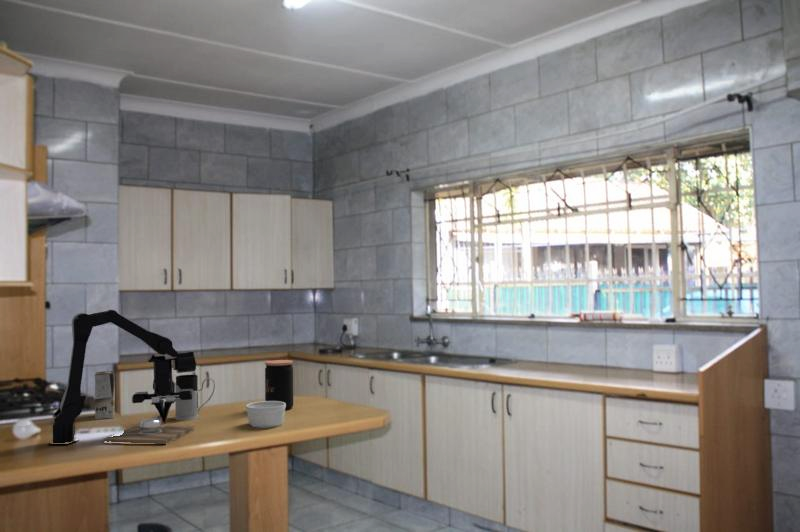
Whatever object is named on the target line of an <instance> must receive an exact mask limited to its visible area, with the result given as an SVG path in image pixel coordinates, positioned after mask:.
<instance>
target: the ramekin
mask: <svg viewBox="0 0 800 532" xmlns="http://www.w3.org/2000/svg"><path fill="white" fill-rule="evenodd" d="M245 408H246V411H247V419H248V423H249V425H250V426H251V427H253V428H261V429H266V428H275V427H276V428H277V427H279V426H281V425H282V424H283V423H284V420H285V413H286V410H285V408H286V403H284V402H280V401H265V400H262V401H254V402H250V403H248V404H246V407H245Z"/></svg>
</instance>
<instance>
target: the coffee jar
mask: <svg viewBox="0 0 800 532" xmlns="http://www.w3.org/2000/svg"><path fill="white" fill-rule="evenodd" d="M293 364H294V360H291V359H275V360H267V361H265V362H264V365H265V368H264V374H265V375H264V387H265V389H264V399H265V400H264V401H280V402H284V403H286V408H285V411H289V410H291V409H293V407H294V367H293Z"/></svg>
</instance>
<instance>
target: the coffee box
mask: <svg viewBox="0 0 800 532" xmlns="http://www.w3.org/2000/svg"><path fill="white" fill-rule="evenodd" d="M115 378H116V376H115V370H108V371H106V370H103V371H96V372H95V374H94V419H95V420H103V419H114V416H115V409H116V407H115V404H116V403H115V401H116V399H115V398H116V397H115V396H116V395H115V391H116V389H115V387H116V386H115V382H116V381H115V380H116V379H115Z"/></svg>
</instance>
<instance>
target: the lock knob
mask: <svg viewBox="0 0 800 532" xmlns="http://www.w3.org/2000/svg"><path fill="white" fill-rule="evenodd" d="M162 423H163V420H162V418H161V416H160V414H159V413H156V414H154V415H153V416H152V417H150V418H143V419H140V424H139V425H140V431H141V432H143V433H151V432H157V431H160V430H161V425H162Z"/></svg>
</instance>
